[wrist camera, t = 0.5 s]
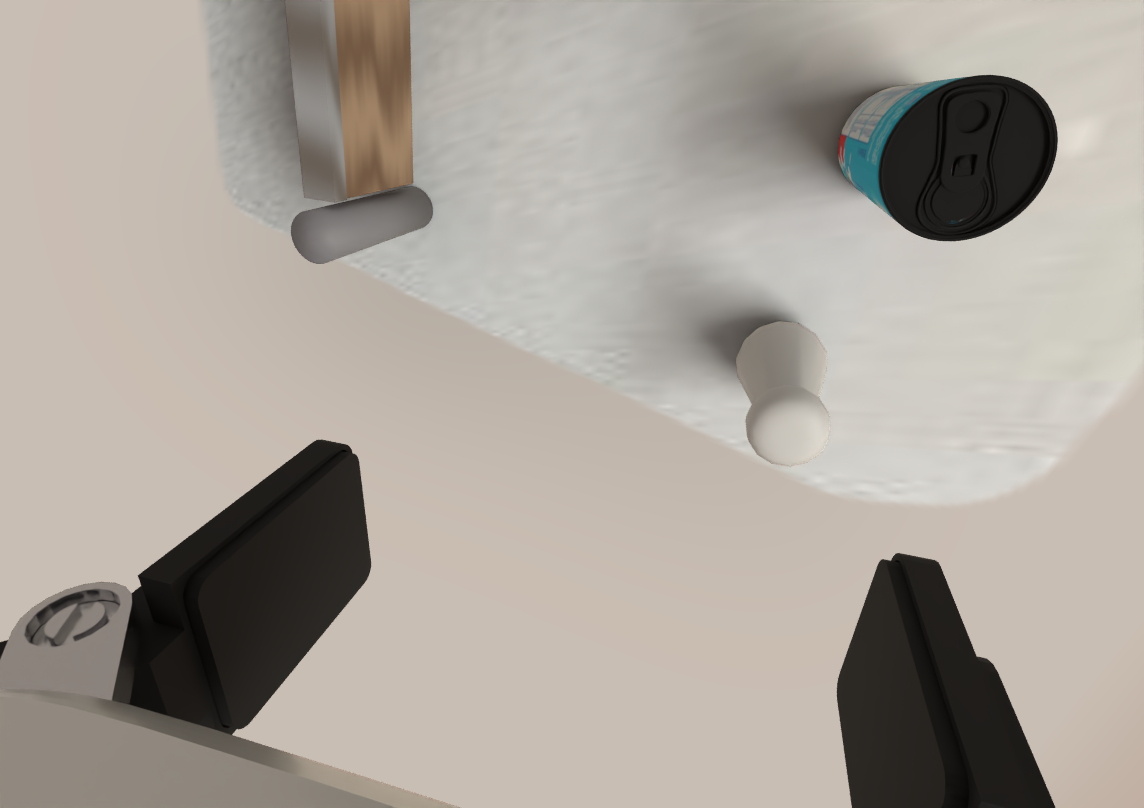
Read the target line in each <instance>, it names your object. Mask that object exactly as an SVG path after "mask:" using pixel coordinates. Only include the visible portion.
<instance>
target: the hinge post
mask: <svg viewBox="0 0 1144 808" xmlns="http://www.w3.org/2000/svg"><path fill="white" fill-rule="evenodd" d="M432 214H433V207H432V203H431V201H430V199H429V197H428V195H427V194H426V193H425V192H424V191H422V190H421V189H419V188H417V187H406V188H402V189H398V190H393V191H389V192H385V193H380V194H376V195H372V196H368V197H363V198H359V199H355V200H351V201H346V202H342V203H338V204H334V205H329V206H325V207H321V208H316V209H312V210H308V211H304V212H301V213H299V214H298V215H297V216H296V217H295V218H294V220H293V222H292V226H291V235H292V240H293V243H294V245H295V247H296V248H297V250H298V252H299V253H300V254H301V255H302V256H303V257H304V258H305V259H307V260H308V261H310V262H313V263H316V264H324V263H327V262H329V261H333V260H335V259H338V258H341V257H343V256H346V255H349V254H352V253H354V252H357V251H360V250H363V249H365V248H368V247H371V246H373V245H376V244H379V243H382V242H384V241H387V240H390V239H393V238H395V237H398V236H401V235H404V234H406V233H409V232H412V231H414V230H417V229H420V228H423V227H425V226H426V225H427V224H428V223H429V222H430V220H431V218H432Z"/></svg>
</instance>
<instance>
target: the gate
mask: <svg viewBox="0 0 1144 808" xmlns="http://www.w3.org/2000/svg"><path fill="white" fill-rule="evenodd" d="M285 9H286V19H287V29H288V39H289V49H290V59H291V70H292V80H293V90H294V100H295V110H296V120H297V131H298V141H299V151H300V161H301V171H302V182H303V192H304V198H310V199H316V200H322V201H329V202H339V201H344V200H347V198H350V197H355V196H359V195H364V194H368V193H372V192H377V191H381V190H386V189H390V188H394V187H399V186H403V185H408V184H412V183H413V151H412V102H411V54H410V5H409V0H285Z"/></svg>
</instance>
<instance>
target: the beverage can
mask: <svg viewBox="0 0 1144 808" xmlns="http://www.w3.org/2000/svg"><path fill="white" fill-rule="evenodd" d="M1057 142H1058V137H1057V127H1056V123H1055V119H1054V116H1053V114H1052V111H1051V109H1050V108H1049V106H1048V104H1047V103H1046V101H1045V100H1044V99H1043V98H1042V97H1041V95H1040V94H1039V93H1038V92H1036V91H1035V90H1034V89H1033V88H1031V87H1030V86H1028V85H1026V84H1025V83H1023V82H1020V81H1018V80H1015V79H1012V78H1009V77H1004V76H997V75H979V76H972V77H963V78H955V79H947V80H940V81H933V82H926V83H920V84H913V85H903V86H896V87H890V88H888V89H885V90H882V91H879V92H877V93H876V94H874V95H872V96H871V97H869V98H867V99H866V100H865V101H864V102H863V103H861V104H860V105H859V106H858V107H857V108H856V109H855V110H854V112H853V113H852V114H851V115H850V117H849V118H848V120H847V122H846V124H845V126H844V127H843V130H842V133H841V136H840V139H839V147H838V157H839V164H840V167H841V169H842V172H843V174H844V176H845V177H846V178H847V180H848V181H849V183H851V184H852V185H853V186H854V187H855V188H857V189H858V190H859V191H861V192H862V193H863V194H864V195H865V196H866V197H868V198H869V199H870V200H871V201H872V202H873V203H875V204H876V205H877V206H878V207H879V208H881V209H882V210H883V211H884V212H885V213H887V214H888V215H889V216H890V217H892V218H893V219H894V220H895V221H897V222H898V223H899V224H900V225H902V226H903V227H904V228H905V229H907V230H908V231H910V232H912V233H914V234H916V235H918V236H921V237H924V238H927V239H931V240H937V241H961V240H967V239H971V238H976V237H979V236H982V235H985V234H987V233H990V232H992V231H994V230H996V229H998V228H1000V227H1002V226H1003V225H1005V224H1007V223H1008V222H1010V221H1011V220H1012V219H1014V218H1015V217H1016V216H1018V215H1019V214H1020V213H1021V212H1022V211H1023V210H1025V209H1026V208H1027V207H1028V206H1029V205H1030V203H1031V202H1032V201H1033V200H1034V199H1035V198H1036V196H1037V195H1038V194H1039V192H1040V191H1041V189H1042V188H1043V186H1044V185H1045V183H1046V181H1047V179H1048V177H1049V175H1050V173H1051V170H1052V168H1053V164H1054V161H1055V157H1056V152H1057Z"/></svg>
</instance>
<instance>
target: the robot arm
mask: <svg viewBox="0 0 1144 808" xmlns="http://www.w3.org/2000/svg"><path fill="white" fill-rule="evenodd" d="M370 569H371V558H370V550H369V541H368V533H367V524H366V516H365V507H364V499H363V491H362V482H361V475H360V466H359V460H358V457H357V456H356V455H355V454H353V453H352V450H351V448H350V447H349V446H348V445H346V444H341V443H336V442H331V441H326V440H316V441H314V442H313V443H311V444H310V445H309V446H308V447H306V448H305V449H303V450H302V451H301V452H299V453H298V454H297V455H296V456H294V457H293V458H292V459H290V460H289V461H288V462H286V463H285V464H284V465H282V466H281V467H280V468H278V469H277V470H276V471H275V472H273V473H272V474H271V475H269V476H268V477H267V478H265V479H264V480H263V481H261V482H260V483H259V484H258V485H256V486H255V487H254V488H252V489H251V490H250V491H248V492H247V493H246V494H244V495H243V496H242V497H240V498H239V499H238V500H236V501H235V502H234V503H232V504H231V505H230V506H229V507H227V508H226V509H225V510H223V511H222V512H221V513H219V514H218V515H217V516H215V517H214V518H213V519H212V520H210V521H209V522H208V523H206V524H205V525H204V526H202V527H201V528H200V529H199V530H197V531H196V532H194V533H193V534H192V535H190V536H189V537H188V538H186V539H185V540H184V541H183V542H181V543H180V544H179V545H177V546H176V547H175V548H173V549H172V550H171V551H169V552H168V553H167V554H165V555H164V556H163V557H162V558H160V559H159V560H158V561H156V562H155V563H154V564H152V565H151V566H150V567H149V568H147V569H146V570H144V571H143V572H142V573H141V574H139V575H138V577H139V580H140V583H141V587H139V588H138V589H137V590H135V591H134V592H133V593H132V594H131V593H130V591H129V590H128V589H127V588H126V587H125V586H122V585H120V584H117V583H110V582H97V583H90V584H83V585H80V586H76V587H73V588H70V589H66V590H64V591H62V592H60V593H58V594H55V595H53V596H51V597H49V598H47V599H45V600H44V601H42V602H41V603H39V604H37V605H36V606H34V607H33V608H32V609H30V611H28V612H27V613H26V614H25V615H24V616H23V617H22V618H20V620H19V621H18V623H17V624H16V626H15V627H14V629H13V630H12V632H11V635H10V637H9V640H7V641H3V642H0V808H460V807H457V806H454V805H451V804H447V803H444V802H441V801H438V800H435V799H432V798H428V797H425V796H422V795H419V794H416V793H413V792H410V791H406V790H404V789H401V788H397V787H394V786H391V785H388V784H385V783H382V782H379V781H376V780H372V779H369V778H366V777H363V776H360V775H357V774H354V773H351V772H347V771H344V770H341V769H338V768H334V767H332V766H328V765H325V764H322V763H319V762H316V761H312V760H309V759H306V758H303V757H300V756H297V755H293V754H290V753H287V752H284V751H280V750H277V749H274V748H271V747H268V746H265V745H262V744H258V743H255V742H252V741H249V740H246V739H242V738H239V737H236V736H233V735H232V734H233V733H234V732H235V730H236V729H242V728H244V727H245V726H247V725H248V724H249V723H250V722H251V721H252V719H253V718H254V717H255V716H256V715H257V713H258V712H259V711H260V710H261V709H262V707H263V706H264V705H265V704H266V702H267V701H268V700H269V699H270V698H271V696H272V695H273V694H274V693H275V691H276V690H277V689H278V688H279V687H280V685H281V684H282V683H283V682H284V681H285V679H286V678H287V677H288V676H289V674H290V673H291V672H292V671H293V669H294V668H295V667H296V666H297V665H298V663H299V662H300V661H301V660H302V659H303V657H304V656H305V655H306V654H307V652H308V651H309V650H310V649H311V647H312V646H313V645H314V644H315V643H316V641H317V640H318V639H319V638H320V636H321V635H322V634H323V633H324V632H325V630H326V629H327V628H328V627H329V626H330V624H331V623H332V622H333V621H334V619H335V618H336V617H337V616H338V615H339V613H340V612H341V611H342V610H343V608H344V607H345V606H346V605H347V604H348V602H349V601H350V600H351V599H352V598H353V596H354V595H355V594H356V593H357V591H358V590H359V589H360V588H361V586H362V585H363V584H364V583H365V581H366V580H367V578H368V576H369V573H370ZM837 701H838V709H839V716H840V722H841V730H842V738H843V745H844V753H845V760H846V767H847V775H848V782H849V789H850V796H851V804H852V808H1055V805H1054V803H1053V801H1052V799H1051V796H1050V794H1049V791H1048V789H1047V787H1046V784H1045V782H1044V780H1043V777H1042V775H1041V773H1040V770H1039V768H1038V766H1037V763H1036V761H1035V758H1034V756H1033V754H1032V751H1031V749H1030V747H1029V745H1028V742H1027V740H1026V737H1025V735H1024V733H1023V730H1022V728H1021V726H1020V723H1019V721H1018V719H1017V716H1016V714H1015V711H1014V709H1013V707H1012V705H1011V702H1010V700H1009V698H1008V695H1007V693H1006V691H1005V688H1004V686H1003V683H1002V681H1001V679H1000V677H999V674H998V672H997V670H996V669H995V667H994V665H993V664H992V663H991V662H990V661H989V660H988V659H985V658H981V657H977V656H976V654H975V652H974V649H973V646H972V644H971V641H970V639H969V636H968V634H967V631H966V629H965V627H964V624H963V621H962V619H961V616H960V614H959V611H958V609H957V606H956V604H955V601H954V599H953V596H952V594H951V591H950V589H949V586H948V584H947V581H946V579H945V576H944V574H943V571H942V569H941V566H940V565H939V563H938V562H937V561H935V560H931V559H926V558H921V557H916V556H911V555H906V554H900V553H897V554H895V555H894V556H893V558H892V560H891V561H889V560H884V559H882V560H881V561H880V562H879V564H878V566H877V569H876V572H875V575H874V577H873V580H872V583H871V586H870V589H869V592H868V594H867V597H866V600H865V603H864V606H863V609H862V612H861V614H860V617H859V620H858V623H857V626H856V628H855V631H854V634H853V637H852V640H851V643H850V646H849V648H848V651H847V654H846V657H845V660H844V663H843V666H842V669H841V671H840V674H839V678H838V683H837Z"/></svg>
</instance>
